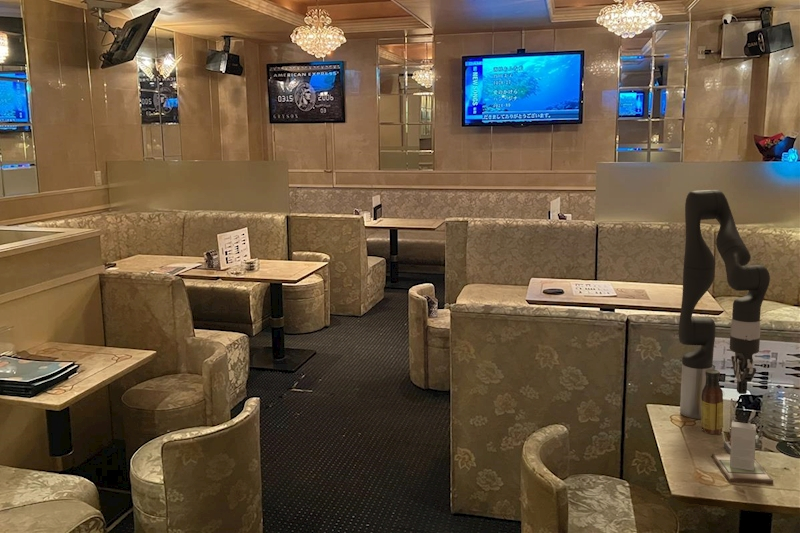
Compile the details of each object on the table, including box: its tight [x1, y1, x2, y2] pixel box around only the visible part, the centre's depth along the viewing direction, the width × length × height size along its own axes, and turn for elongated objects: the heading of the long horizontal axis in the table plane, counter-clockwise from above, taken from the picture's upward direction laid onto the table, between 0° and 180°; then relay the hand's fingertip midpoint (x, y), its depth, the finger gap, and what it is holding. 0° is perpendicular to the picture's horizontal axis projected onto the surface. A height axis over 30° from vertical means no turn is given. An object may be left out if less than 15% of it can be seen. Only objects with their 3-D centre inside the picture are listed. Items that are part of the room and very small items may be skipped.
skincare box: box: [730, 421, 757, 471], centre depth 183 cm, size 6×4×12 cm
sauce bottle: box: [700, 368, 724, 435], centre depth 208 cm, size 6×6×20 cm
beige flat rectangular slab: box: [710, 453, 774, 485], centre depth 184 cm, size 15×11×1 cm
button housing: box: [723, 441, 731, 454], centre depth 194 cm, size 6×6×2 cm
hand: (741, 393), depth 192 cm, fingers closed
